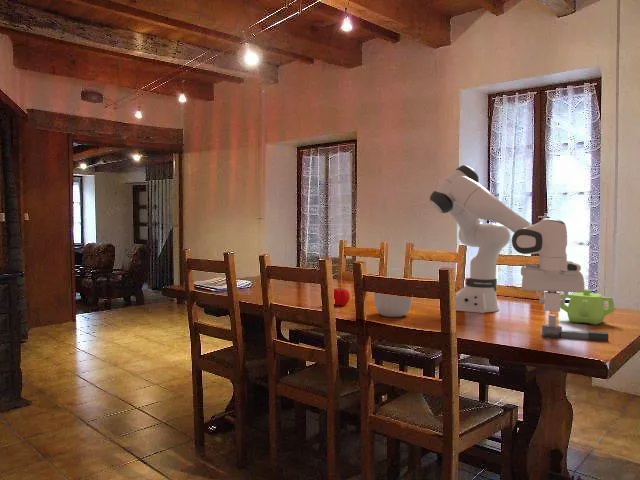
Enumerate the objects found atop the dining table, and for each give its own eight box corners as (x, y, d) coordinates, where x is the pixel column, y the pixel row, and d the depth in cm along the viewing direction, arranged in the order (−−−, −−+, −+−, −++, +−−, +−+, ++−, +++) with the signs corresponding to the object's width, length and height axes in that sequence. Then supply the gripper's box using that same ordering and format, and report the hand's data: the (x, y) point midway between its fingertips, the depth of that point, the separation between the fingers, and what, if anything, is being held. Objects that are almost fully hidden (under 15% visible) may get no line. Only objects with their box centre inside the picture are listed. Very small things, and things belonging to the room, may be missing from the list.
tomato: (325, 305, 249) (325, 288, 248) (337, 302, 257) (337, 285, 257) (342, 307, 244) (342, 289, 243) (354, 304, 252) (354, 287, 252)
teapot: (612, 330, 197) (613, 295, 196) (554, 324, 207) (555, 291, 206) (615, 321, 212) (616, 289, 211) (561, 316, 223) (561, 285, 222)
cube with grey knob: (544, 310, 184) (544, 290, 184) (543, 308, 189) (544, 288, 189) (560, 311, 183) (560, 290, 182) (559, 309, 187) (559, 288, 187)
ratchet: (542, 337, 184) (542, 316, 184) (541, 333, 190) (541, 313, 190) (609, 342, 177) (609, 320, 177) (606, 338, 183) (606, 316, 183)
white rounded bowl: (375, 311, 235) (375, 277, 235) (413, 312, 232) (414, 278, 231) (371, 318, 219) (371, 282, 218) (412, 320, 215) (412, 282, 215)
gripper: (521, 264, 186) (520, 303, 187) (585, 266, 179) (584, 307, 179) (520, 263, 192) (520, 300, 192) (583, 264, 185) (582, 304, 185)
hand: (551, 303), depth 186 cm, fingers closed on cube with grey knob, 5 cm apart
